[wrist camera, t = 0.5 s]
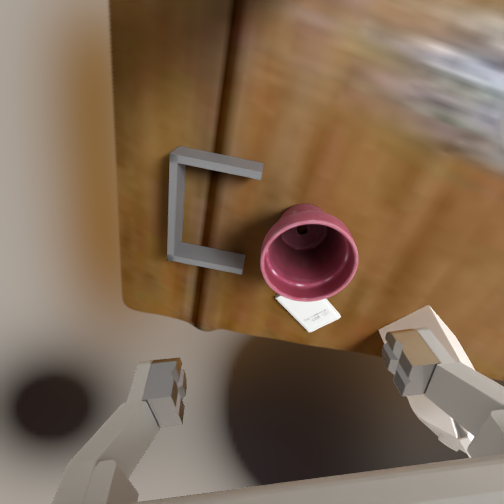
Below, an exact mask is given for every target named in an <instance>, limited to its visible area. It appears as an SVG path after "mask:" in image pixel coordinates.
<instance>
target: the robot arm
mask: <svg viewBox="0 0 504 504" xmlns="http://www.w3.org/2000/svg"><path fill="white" fill-rule="evenodd" d="M385 339H386V341H387V343H386V344H385V345H383V349H382V356H383V360H384V363H385V365H386V367H387V369H388V370H389V371H390V372H392V373H393V374H394V375H395V376H394V382H395V384H396V386H397V388H398V390H399V391H400V393H401V395H402V396H411V395H422V394H425V396H426V397H427V398H428V399H429V400H431V401H432V402H433V403H434V404H435V405H437V406H438V407H439V408H440V409H442V410H443V411H444V412H445V413H446V414H448V415H449V416H450V417H451V418H452V419H454V420H455V421H456V422H457V423H459V424H460V425H461V426H462V427H463V428H465V429H466V430H467V431H468V432H469V433H471V434H472V435H473V436H474V438H473V440H472V441H471V443H470V444H469V446H468V449H467V451H468V453H469V454H470V456H471V458H467V459H459V460H451V461H444V462H436V463H429V464H421V465H414V466H407V467H399V468H391V469H384V470H376V471H369V472H361V473H354V474H346V475H338V476H330V477H323V478H316V479H308V480H300V481H293V482H285V483H278V484H270V485H262V486H255V487H247V488H240V489H232V490H226V491H217V492H210V493H203V494H195V495H187V496H180V497H172V498H165V499H157V500H149V501H142V502H137V500H138V495H139V494H138V492H137V490H136V489H135V488H134V486H133V485H132V484H131V482H130V481H129V480H128V479H129V477H130V475H131V474H132V472H133V470H134V469H135V467H136V466H137V464H138V463H139V461H140V459H141V458H142V456H143V455H144V453H145V451H146V450H147V449H148V447H149V446H150V444H151V442H152V441H153V439H154V438H155V436H156V435H157V433H158V431H159V430H160V428H162V427H168V426H175V425H181V424H183V415H184V407H185V406H184V404H183V401H182V400H183V398H184V397H185V395H186V389H187V384H186V383H187V382H186V374H185V371H184V370H183V369H181V366H182V362H181V360H180V358H171V359H161V360H150V361H142V362H139V364H138V365H137V368H136V372H135V375H134V379H133V382H132V385H131V389H130V392H129V396H128V399H127V403H123V404H121V406H120V407H119V408H118V409H117V410H116V411H115V412H114V414H112V416H111V417H110V418H109V419H108V420H107V421H106V422H105V423H104V424H103V425H102V427H101V428H100V429H99V430H98V431H97V432H96V433H95V434H94V436H93V437H92V438H91V439H90V440H89V441H88V442H87V443H86V444H85V446H84V447H83V448H82V449H81V450H80V451H79V452H78V453H77V454H76V455H75V456H74V458H73V459H72V460H71V461H70V462H69V463H68V464H67V467H66V470H65V472H64V475H63V477H62V480H61V483H60V485H59V488H58V490H57V492H56V495H55V497H54V500H53V503H52V504H504V387H503V386H501V385H500V384H498V383H496V382H494V381H493V380H491V379H489V378H487V377H486V376H484V375H482V374H480V373H479V372H477V371H475V370H473V369H472V368H470V367H468V366H466V365H465V364H463V363H461V362H460V361H458V362H455V361H454V359H453V358H452V357H451V356H450V354H449V353H448V352H447V350H446V349H445V348H444V347H443V345H442V344H441V343H440V342H439V340H438V339H437V338H436V337H435V335H434V334H433V333H432V331H431V330H430V329H429V328H427V327H422V328H414V329H405V330H397V331H390V332H387V333H386V336H385Z"/></svg>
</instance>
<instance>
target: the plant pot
mask: <svg viewBox="0 0 504 504" xmlns="http://www.w3.org/2000/svg"><path fill="white" fill-rule="evenodd" d="M299 226H306V227H307V231H306V232H305V233H304V234H299V233H298V232H297V228H298V227H299ZM357 266H358V251H357V248H356V245H355V242H354V240H353V238H352V236H351V234H350V232H349V230H348V229H347V227H346V226H345V225H344V224H343V223H342V222H341V221H340V220H339V219H337V218H336V217H334V216H332V215H330V214H327V213H325V212H324V211H323V210H321V209H320V208H319V207H317V206H314V205H311V204H298V205H294V206H292V207H290V208H289V209H287V210H286V211H285V212H284V213H283V214H282V216H281V218H280V219H279V221H278V222H277V223H275V224H274V225H273V226H272V227H271V228H270V230H269V231H268V232H267V234H266V236H265V238H264V240H263V243H262V248H261V255H260V268H261V272H262V275H263V278H264V280H265V281H266V283H267V284H268V285H269V287H270V288H271V289H272V290H274V291H275V292H276V293H278V294H279V295H281V296H283V297H285V298H288V299H291V300H294V301H301V302H312V301H318V300H322V299H326V298H328V297H331V296H333V295H335V294H336V293H338V292H339V291H341V290H342V289H343V288H345V287H346V286H347V284H348V283H349V282H350V281H351V279H352V278H353V276H354V274H355V272H356V270H357Z"/></svg>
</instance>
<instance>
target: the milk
mask: <svg viewBox="0 0 504 504" xmlns="http://www.w3.org/2000/svg"><path fill="white" fill-rule="evenodd" d="M422 327H427V328H429V329H430V330H431V331H432V333H433V334H434V335H435V337H436V338H437V339H438V340H439V342H440V343H441V344H442V345H443V347H444V348H445V349H446V350H447V352H448V353H449V354H450V356H451V357H452V358H453V359H454V361H455V362H458V361H460V362H461V363H463V364H465V365H466V366H468V367H470V368H472V369H473V370H475V369H474V367H473V366H472V364H471V362H470V360H469V359H468V357H467V355H466V354H465V352H464V350H463V348H462V347H461V345H460V343H459V341H458V340H457V338H456V337H455V335H454V334H453V333H452V332H451V331H450V329H449V328H448V327H447V326H446V325H445V324H444V322H443V321H442V320H441V319H440V318H439V316H438V315H437V314H436V313H435V312H434V311H433V309H432V308H431V307H430V306H429V305H427V306H425V307H423V308H421V309H419V310H417V311H415V312H413V313H411V314H409V315H407V316H405V317H403V318H401V319H399V320H397V321H395V322H393V323H391V324H389V325H387V326H385V327H383V328H381V329H379V333H380V335H381V338H382V340H383V342H384V345H385V344H386V343H387V341H386V339H385V336H386V333H387V332H390V331H397V330H405V329H414V328H422ZM407 398H408V401H409V403H410V405H411V407H412V409H413V411H414V413H415V414H416V415H417V417H418V418H419V419H420V420H421V421H422V422H423V423H424V424H425V425H426V426H427V427H429V428H430V429H431V430H432V431H433V432H434V433H435V434H436V435H437V436H439V440H440V441H441V442H442V443H444V444H445V445H446V446H448V447H450V448H451V449H453V450H455V451H458V449H460V450H462V451H463V452H465V453H467V454H468V456H469V458H471V456H470V454H469V453H468V451H467V449H468V446H469V444H470V443H471V441H472V440H473V438H474V436H473V435H472V434H471V433H469V432H468V431H467V430H466V429H465V428H463V427H462V426H461V425H460V424H459V423H457V422H456V421H455V420H454V419H452V418H451V417H450V416H449V415H448V414H446V413H445V412H444V411H443V410H442V409H440V408H439V407H438V406H437V405H435V404H434V403H433V402H432V401H431V400H429V399H428V398H427V397H426V396H425V394H422V395H411V396H407Z"/></svg>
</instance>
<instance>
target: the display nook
mask: <svg viewBox="0 0 504 504" xmlns="http://www.w3.org/2000/svg"><path fill="white" fill-rule="evenodd" d="M186 165H190V166H195V167H200V168H204V169H209V170H214V171H219V172H224V173H229V174H234V175H239V176H244V177H249V178H254V179H259V180H261V176H262V171H263V166H264V163H261V162H256V161H251V160H246V159H241V158H236V157H231V156H226V155H221V154H216V153H212V152H207V151H202V150H197V149H192V148H187V147H182V146H179V147H178V148H176V149H175V150H174V151H172V152H171V153H170V165H169V203H168V242H167V260H170V261H175V262H180V263H185V264H190V265H195V266H201V267H206V268H211V269H216V270H221V271H226V272H231V273H236V274H241V275H242V272H243V267H244V262H245V257H246V255H244V254H239V253H234V252H229V251H224V250H219V249H214V248H209V247H204V246H199V245H194V244H189V243H184V242H182V228H183V210H184V192H185V175H186Z"/></svg>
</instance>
